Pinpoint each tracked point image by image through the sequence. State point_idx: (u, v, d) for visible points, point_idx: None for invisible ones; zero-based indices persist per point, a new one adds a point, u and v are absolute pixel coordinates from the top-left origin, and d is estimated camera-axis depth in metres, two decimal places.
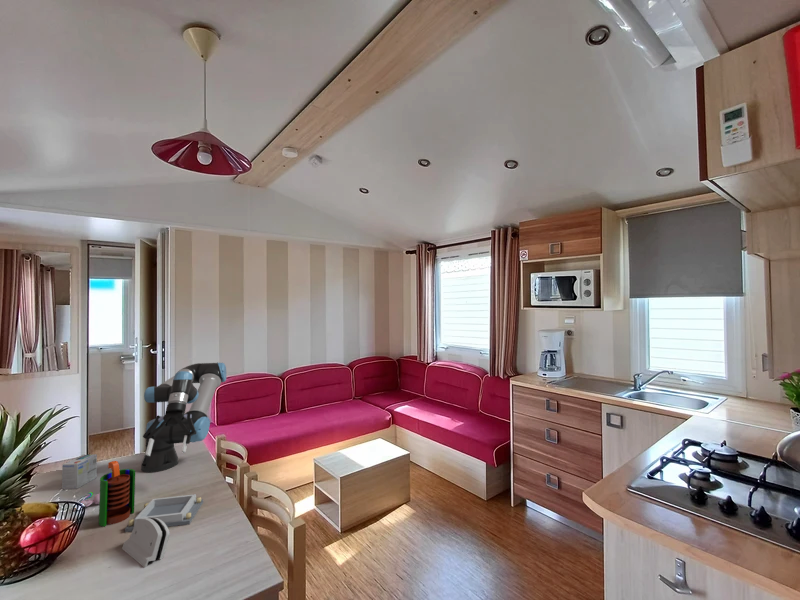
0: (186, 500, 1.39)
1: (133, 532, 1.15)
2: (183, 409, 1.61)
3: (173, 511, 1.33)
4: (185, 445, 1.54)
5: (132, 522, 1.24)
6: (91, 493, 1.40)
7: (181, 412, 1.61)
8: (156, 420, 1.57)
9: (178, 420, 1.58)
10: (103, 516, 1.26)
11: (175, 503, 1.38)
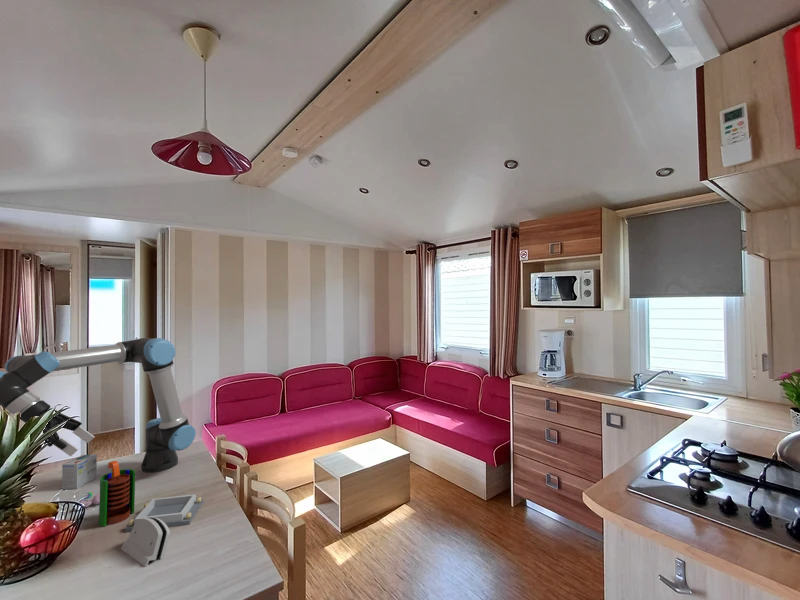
0: (186, 500, 1.39)
1: (132, 532, 1.15)
2: (28, 418, 1.20)
3: (173, 511, 1.33)
4: (67, 449, 1.21)
5: (132, 522, 1.24)
6: (90, 493, 1.39)
7: None
8: None
9: None
10: (103, 516, 1.26)
11: (175, 503, 1.38)
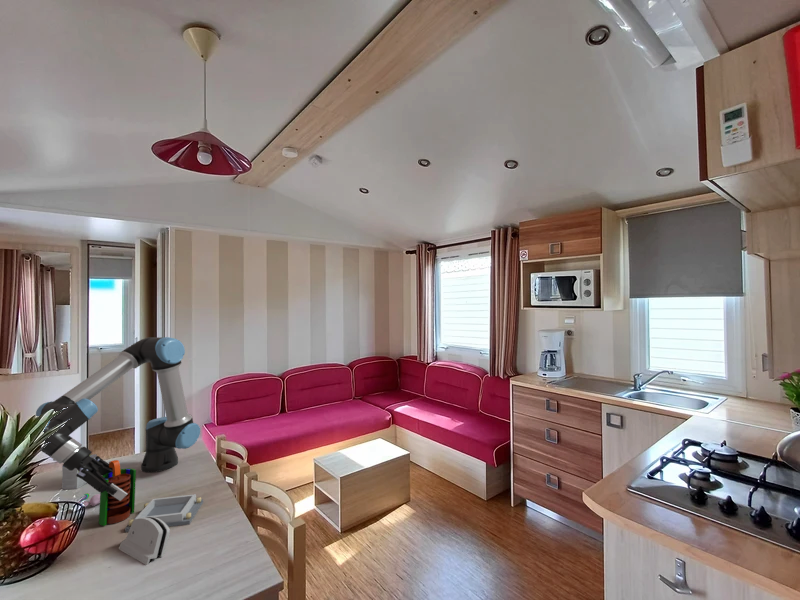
0: (186, 500, 1.39)
1: (130, 532, 1.15)
2: (72, 466, 1.24)
3: (173, 511, 1.33)
4: (117, 494, 1.28)
5: (132, 522, 1.24)
6: (87, 495, 1.38)
7: None
8: None
9: None
10: (103, 515, 1.26)
11: (175, 503, 1.38)
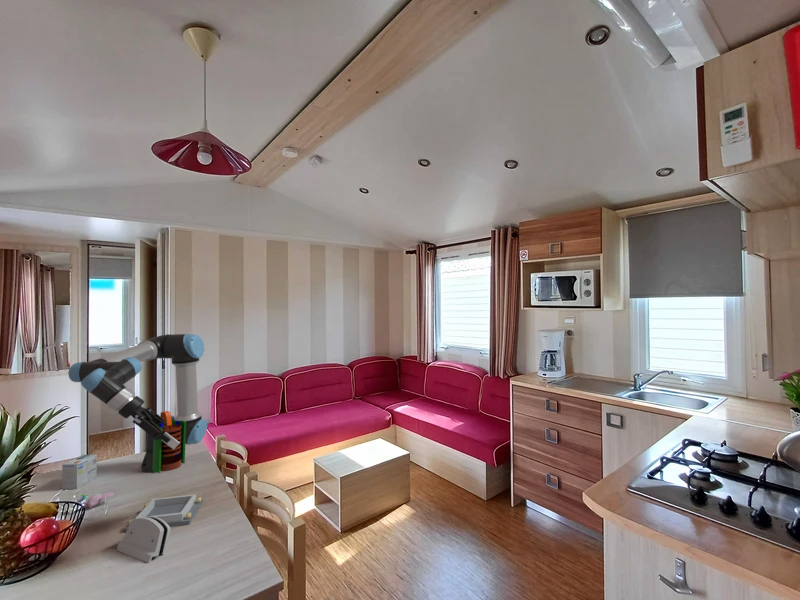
0: (186, 500, 1.39)
1: (128, 532, 1.15)
2: (127, 413, 1.26)
3: (173, 511, 1.33)
4: (170, 442, 1.30)
5: None
6: (84, 496, 1.37)
7: None
8: None
9: None
10: (157, 462, 1.28)
11: (175, 503, 1.38)
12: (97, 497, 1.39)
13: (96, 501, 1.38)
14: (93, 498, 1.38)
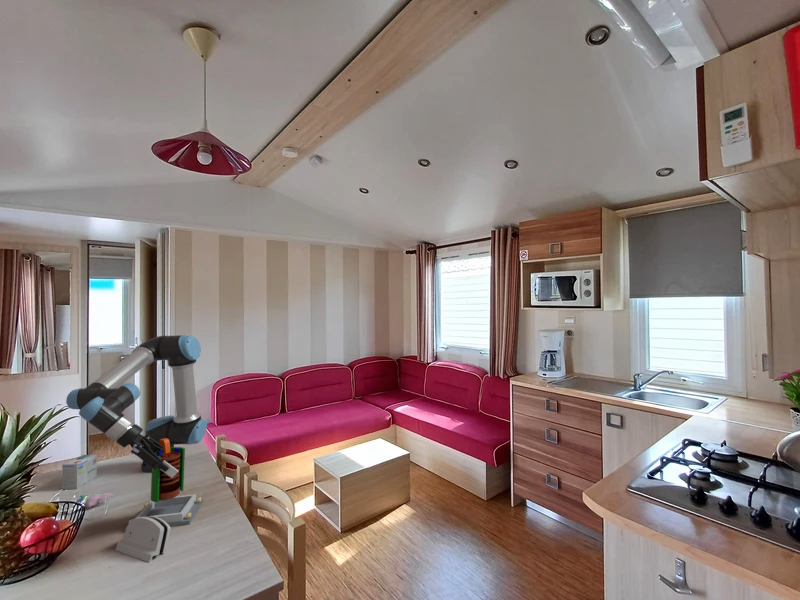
0: (186, 500, 1.39)
1: (127, 532, 1.15)
2: (126, 442, 1.25)
3: (173, 511, 1.33)
4: (169, 471, 1.29)
5: None
6: (83, 496, 1.37)
7: (129, 444, 1.25)
8: None
9: None
10: (156, 492, 1.27)
11: (175, 503, 1.38)
12: (96, 497, 1.39)
13: (95, 501, 1.38)
14: (92, 498, 1.38)
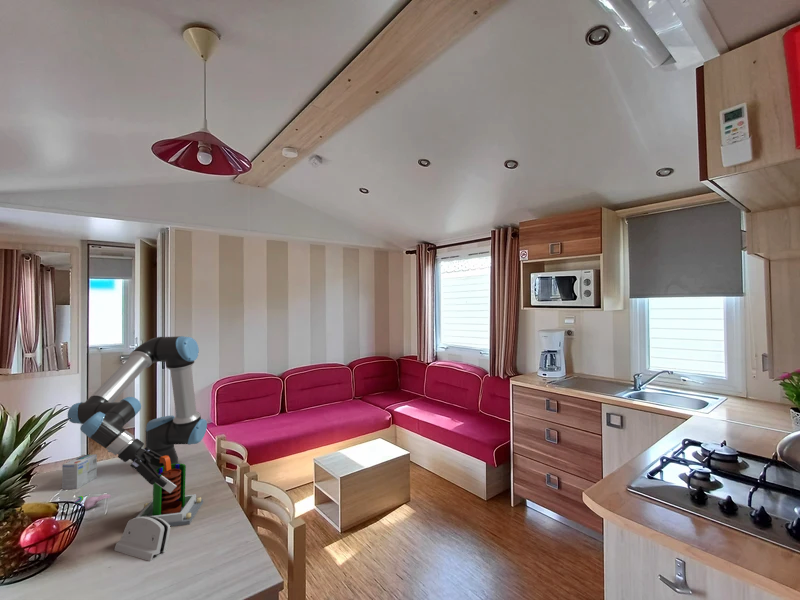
0: (186, 500, 1.39)
1: (125, 533, 1.15)
2: (127, 457, 1.25)
3: None
4: (166, 486, 1.27)
5: None
6: (81, 497, 1.36)
7: None
8: None
9: None
10: (158, 510, 1.27)
11: None
12: (94, 499, 1.38)
13: (92, 503, 1.37)
14: (89, 500, 1.37)
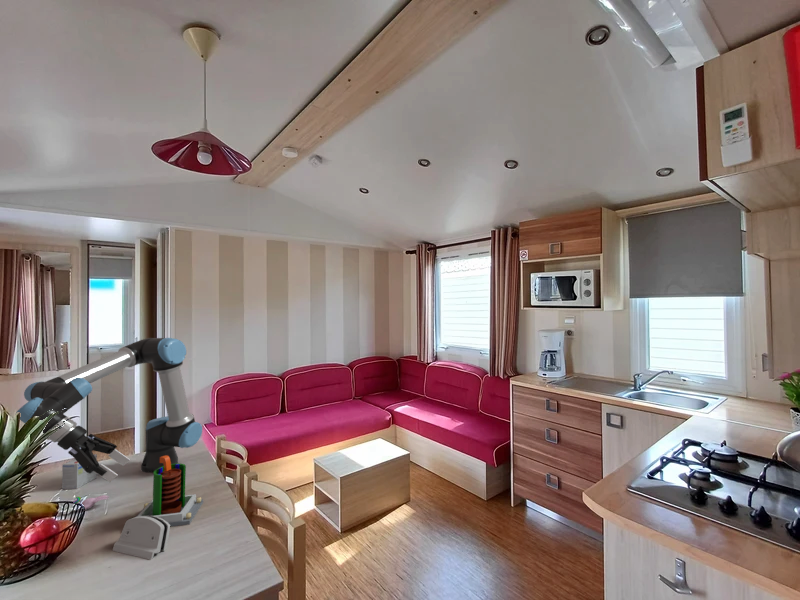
0: (186, 500, 1.39)
1: (124, 533, 1.15)
2: (67, 445, 1.19)
3: None
4: (106, 475, 1.20)
5: None
6: (78, 498, 1.36)
7: None
8: None
9: None
10: (158, 510, 1.27)
11: None
12: (91, 500, 1.37)
13: (90, 504, 1.36)
14: (87, 501, 1.36)
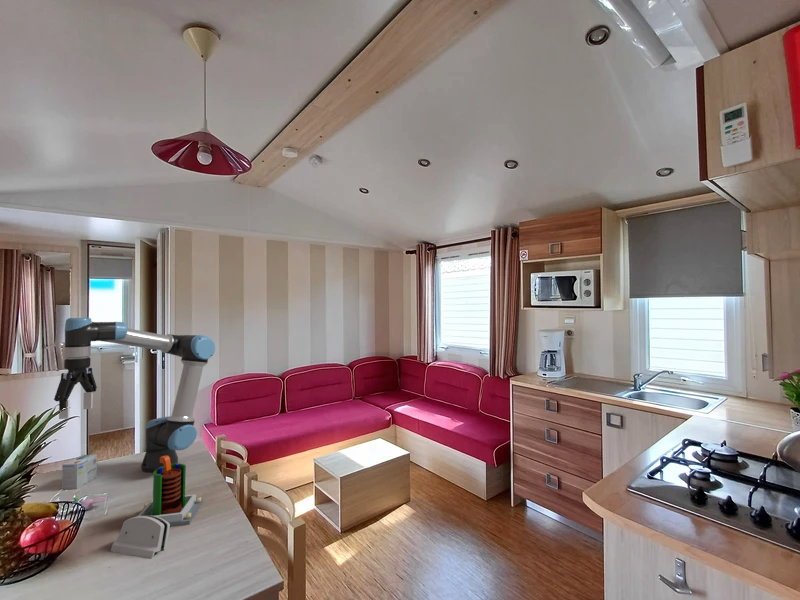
0: (186, 500, 1.39)
1: (122, 533, 1.15)
2: (67, 366, 1.34)
3: None
4: (62, 411, 1.30)
5: None
6: (76, 499, 1.35)
7: None
8: None
9: None
10: (158, 510, 1.27)
11: None
12: (88, 501, 1.36)
13: (87, 505, 1.35)
14: (84, 502, 1.36)
